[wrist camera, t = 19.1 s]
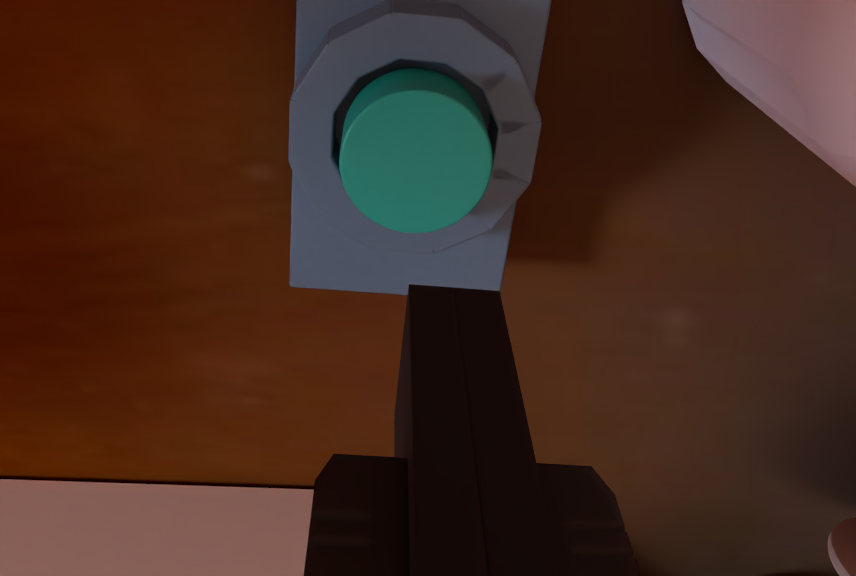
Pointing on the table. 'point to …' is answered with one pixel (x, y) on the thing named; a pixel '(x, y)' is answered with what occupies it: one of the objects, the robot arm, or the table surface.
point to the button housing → (349, 74)
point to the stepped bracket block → (151, 529)
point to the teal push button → (415, 151)
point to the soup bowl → (843, 547)
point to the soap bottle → (789, 66)
